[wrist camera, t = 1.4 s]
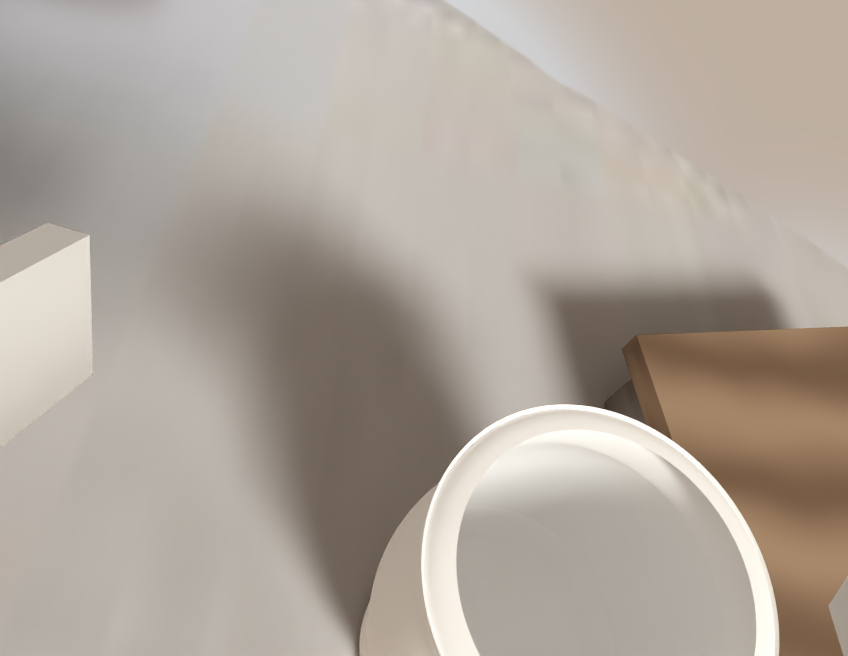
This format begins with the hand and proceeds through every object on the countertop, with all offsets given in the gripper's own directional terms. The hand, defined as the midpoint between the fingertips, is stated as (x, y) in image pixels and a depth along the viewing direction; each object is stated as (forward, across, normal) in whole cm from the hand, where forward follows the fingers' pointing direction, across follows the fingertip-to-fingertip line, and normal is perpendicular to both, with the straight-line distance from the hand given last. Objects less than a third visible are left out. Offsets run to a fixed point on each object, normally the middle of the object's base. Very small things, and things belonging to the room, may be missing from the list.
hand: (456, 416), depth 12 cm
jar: (+13, +2, -21) cm, 25 cm away
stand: (+25, +16, -18) cm, 34 cm away
